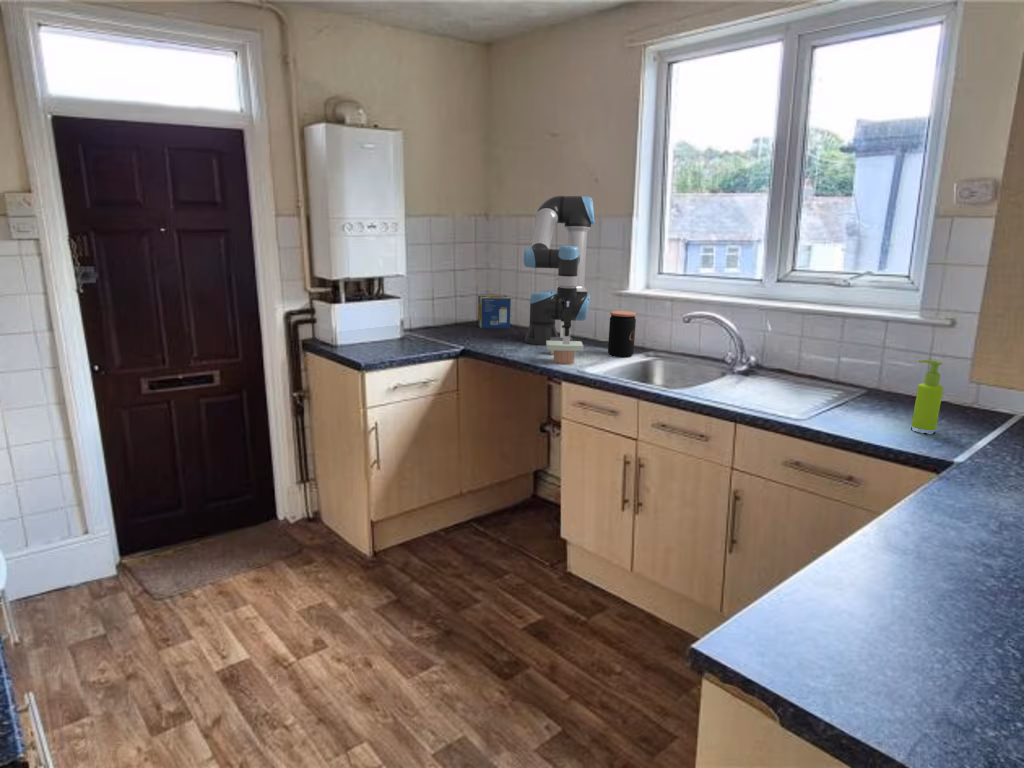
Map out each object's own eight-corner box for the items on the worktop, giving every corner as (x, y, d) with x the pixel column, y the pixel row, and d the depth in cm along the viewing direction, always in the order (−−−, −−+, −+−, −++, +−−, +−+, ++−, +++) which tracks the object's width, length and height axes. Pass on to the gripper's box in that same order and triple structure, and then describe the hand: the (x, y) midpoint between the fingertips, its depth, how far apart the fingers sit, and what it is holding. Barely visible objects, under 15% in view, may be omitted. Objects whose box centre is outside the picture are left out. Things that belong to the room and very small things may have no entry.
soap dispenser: (912, 425, 192) (924, 357, 187) (938, 432, 187) (951, 362, 182) (902, 429, 189) (915, 359, 184) (929, 435, 183) (942, 364, 178)
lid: (546, 345, 269) (546, 340, 269) (580, 346, 269) (581, 341, 269) (547, 350, 260) (547, 345, 259) (583, 351, 260) (583, 346, 259)
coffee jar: (633, 358, 275) (636, 315, 271) (606, 356, 277) (609, 313, 273) (633, 353, 285) (636, 311, 281) (608, 352, 287) (611, 310, 283)
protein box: (477, 325, 349) (477, 295, 346) (506, 324, 353) (507, 295, 349) (480, 328, 340) (481, 297, 336) (510, 328, 343) (511, 297, 339)
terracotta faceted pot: (553, 359, 270) (553, 346, 268) (573, 359, 270) (573, 346, 268) (554, 363, 262) (554, 349, 260) (574, 364, 262) (575, 350, 260)
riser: (549, 352, 284) (550, 337, 283) (571, 352, 284) (571, 337, 283) (550, 354, 278) (551, 339, 277) (572, 355, 278) (573, 340, 277)
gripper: (555, 282, 271) (553, 334, 276) (559, 290, 246) (557, 347, 252) (573, 283, 271) (571, 334, 276) (579, 291, 246) (577, 347, 252)
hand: (564, 340), depth 264 cm, fingers open, 13 cm apart
